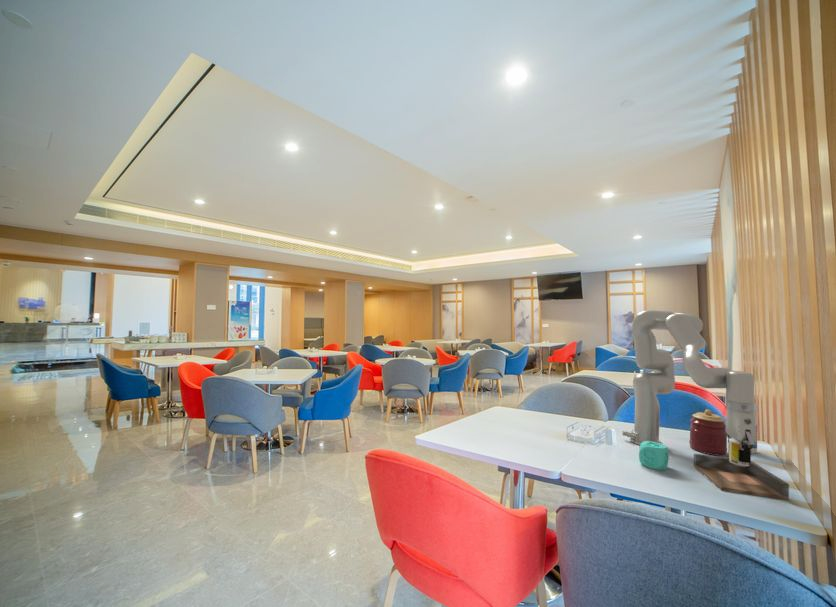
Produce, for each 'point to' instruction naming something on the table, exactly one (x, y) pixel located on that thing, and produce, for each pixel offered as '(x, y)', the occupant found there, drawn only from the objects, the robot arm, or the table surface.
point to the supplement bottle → (735, 452)
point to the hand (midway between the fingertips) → (739, 458)
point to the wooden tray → (741, 477)
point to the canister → (708, 433)
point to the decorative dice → (653, 455)
